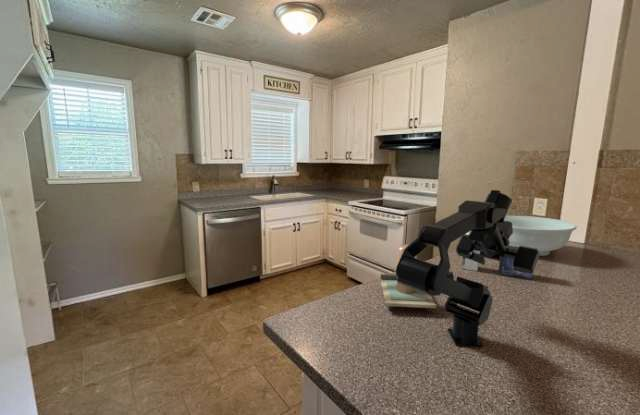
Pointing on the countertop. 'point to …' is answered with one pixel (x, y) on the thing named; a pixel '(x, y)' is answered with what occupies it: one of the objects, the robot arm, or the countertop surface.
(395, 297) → the mint green tray
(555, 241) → the bowl
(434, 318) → the countertop surface
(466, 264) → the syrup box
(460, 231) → the robot arm
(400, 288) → the canister
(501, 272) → the small box
